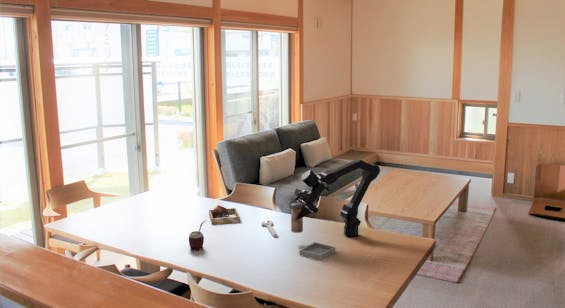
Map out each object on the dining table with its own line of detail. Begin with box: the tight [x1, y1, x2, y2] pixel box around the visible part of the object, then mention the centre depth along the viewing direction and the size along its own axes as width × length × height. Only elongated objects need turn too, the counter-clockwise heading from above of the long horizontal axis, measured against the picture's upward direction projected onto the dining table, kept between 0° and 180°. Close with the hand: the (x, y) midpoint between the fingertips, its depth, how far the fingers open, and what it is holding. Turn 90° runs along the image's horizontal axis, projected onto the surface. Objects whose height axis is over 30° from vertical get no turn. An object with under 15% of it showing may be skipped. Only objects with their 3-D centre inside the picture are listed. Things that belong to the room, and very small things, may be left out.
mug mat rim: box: [208, 207, 241, 225], centre depth 301 cm, size 16×18×3 cm
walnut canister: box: [290, 202, 304, 234], centre depth 258 cm, size 6×6×14 cm
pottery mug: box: [212, 204, 230, 218], centre depth 301 cm, size 12×10×8 cm
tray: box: [299, 241, 336, 261], centre depth 247 cm, size 13×12×2 cm
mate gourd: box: [188, 219, 207, 252], centre depth 253 cm, size 8×8×15 cm
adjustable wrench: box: [261, 220, 279, 239], centre depth 280 cm, size 25×6×2 cm, turn 9°
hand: (294, 217), depth 257 cm, fingers closed on walnut canister, 6 cm apart
